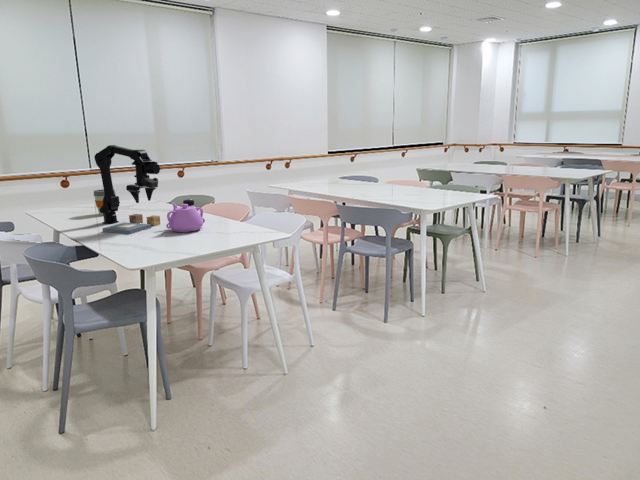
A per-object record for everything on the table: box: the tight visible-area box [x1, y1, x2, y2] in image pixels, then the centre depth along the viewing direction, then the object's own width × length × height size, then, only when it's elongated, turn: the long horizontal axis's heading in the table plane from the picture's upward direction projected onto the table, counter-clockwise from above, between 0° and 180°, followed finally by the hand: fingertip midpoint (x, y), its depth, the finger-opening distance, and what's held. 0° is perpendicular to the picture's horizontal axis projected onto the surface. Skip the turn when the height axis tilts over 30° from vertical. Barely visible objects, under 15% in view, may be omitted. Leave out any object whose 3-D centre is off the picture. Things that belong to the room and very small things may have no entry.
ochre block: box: [146, 215, 161, 227], centre depth 273 cm, size 5×5×5 cm
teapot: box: [165, 201, 206, 233], centre depth 259 cm, size 22×22×14 cm
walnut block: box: [128, 213, 144, 224], centre depth 278 cm, size 5×5×5 cm
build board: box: [102, 222, 152, 235], centre depth 261 cm, size 18×16×2 cm
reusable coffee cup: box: [93, 188, 116, 216], centre depth 308 cm, size 12×13×15 cm
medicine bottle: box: [182, 198, 199, 212], centre depth 284 cm, size 7×7×12 cm
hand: (143, 201), depth 271 cm, fingers open, 9 cm apart
